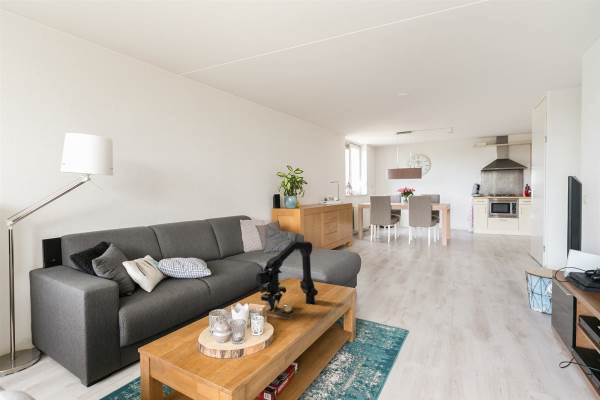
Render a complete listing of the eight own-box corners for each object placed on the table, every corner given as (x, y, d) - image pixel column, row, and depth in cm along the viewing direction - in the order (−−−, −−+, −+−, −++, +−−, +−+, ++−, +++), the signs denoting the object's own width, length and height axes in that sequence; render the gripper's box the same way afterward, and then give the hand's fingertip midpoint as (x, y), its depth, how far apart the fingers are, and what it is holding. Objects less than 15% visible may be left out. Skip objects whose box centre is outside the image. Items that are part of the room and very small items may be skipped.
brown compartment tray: (273, 309, 187) (273, 305, 187) (298, 314, 179) (298, 309, 179) (263, 316, 177) (263, 311, 177) (289, 321, 169) (289, 316, 169)
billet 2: (286, 312, 179) (286, 302, 178) (292, 314, 177) (292, 303, 177) (283, 315, 175) (282, 304, 175) (289, 316, 173) (289, 305, 173)
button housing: (269, 304, 195) (269, 299, 195) (275, 305, 193) (275, 300, 193) (265, 307, 191) (265, 302, 191) (271, 308, 189) (271, 303, 189)
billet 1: (273, 308, 183) (273, 298, 182) (279, 309, 181) (278, 299, 181) (269, 310, 179) (269, 300, 179) (275, 311, 177) (275, 301, 177)
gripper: (270, 275, 191) (271, 301, 192) (252, 284, 175) (253, 311, 175) (286, 277, 186) (287, 303, 187) (269, 286, 170) (270, 315, 170)
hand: (274, 308), depth 180 cm, fingers closed on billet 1, 4 cm apart
